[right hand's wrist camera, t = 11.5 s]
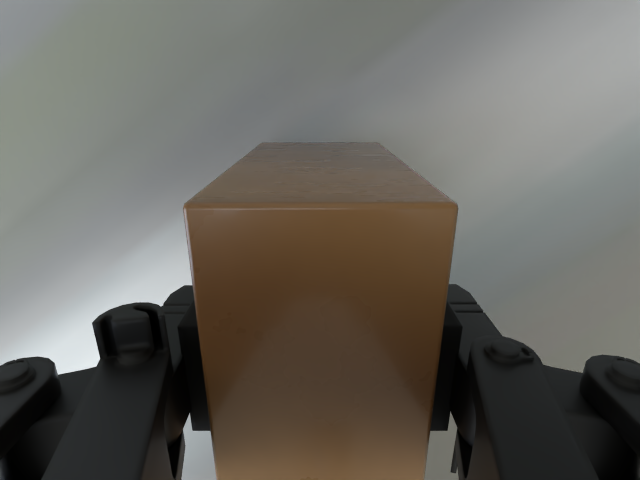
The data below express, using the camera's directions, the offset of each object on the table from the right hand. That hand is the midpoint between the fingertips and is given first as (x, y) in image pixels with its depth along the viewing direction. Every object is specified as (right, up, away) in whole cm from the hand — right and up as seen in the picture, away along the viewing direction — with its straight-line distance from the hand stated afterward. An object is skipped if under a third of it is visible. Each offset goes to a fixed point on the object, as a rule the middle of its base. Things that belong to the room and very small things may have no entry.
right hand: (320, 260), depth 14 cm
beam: (0, -21, +9) cm, 23 cm away
